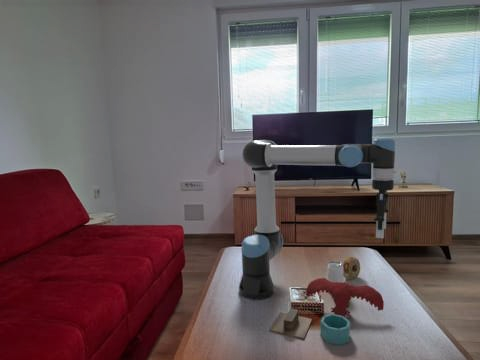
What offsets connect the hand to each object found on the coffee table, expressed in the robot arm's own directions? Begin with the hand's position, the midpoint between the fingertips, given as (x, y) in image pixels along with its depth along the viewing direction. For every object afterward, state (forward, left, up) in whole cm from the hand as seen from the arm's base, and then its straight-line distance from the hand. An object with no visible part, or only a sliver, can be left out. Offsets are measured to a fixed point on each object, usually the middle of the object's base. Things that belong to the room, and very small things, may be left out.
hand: (381, 232), depth 125 cm
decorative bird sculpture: (-12, -15, -28) cm, 34 cm away
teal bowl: (-12, -31, -28) cm, 43 cm away
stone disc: (-12, +16, -28) cm, 34 cm away
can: (-17, +1, -28) cm, 33 cm away
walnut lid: (-27, -31, -28) cm, 50 cm away
